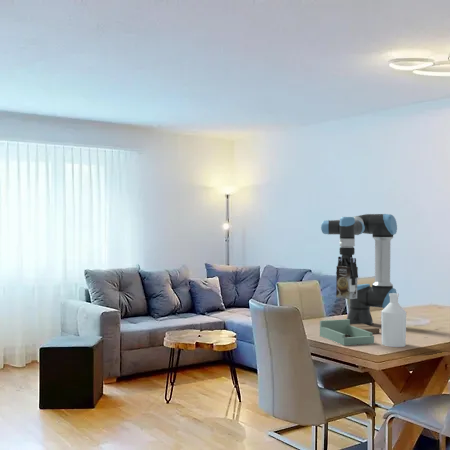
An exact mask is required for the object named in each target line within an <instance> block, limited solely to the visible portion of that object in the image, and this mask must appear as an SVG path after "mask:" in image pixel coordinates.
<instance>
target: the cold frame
mask: <svg viewBox="0 0 450 450" xmlns="http://www.w3.org/2000/svg"><path fill="white" fill-rule="evenodd" d="M349 335H350V337H349ZM319 336H320V337H322V338H325V339H326V340H329V341H331V340H332V342H334V341H335V343H336V342H337V344H339V343H340V344H339V345H341V344H342V346H354V345H356V346H357V344H358V345H371V344H375V335H373V333H372V332H369V331H366V330H363V329H360V328H357V327H354V326H351V325H350V320H349V319H347V318H346V319H345V318H343V319H328V320H327V319H325V320H324V319H323V320H319ZM346 336H347V337H346Z"/></svg>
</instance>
